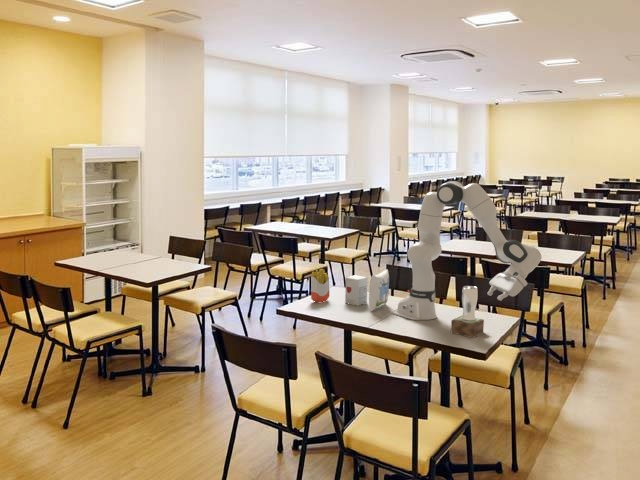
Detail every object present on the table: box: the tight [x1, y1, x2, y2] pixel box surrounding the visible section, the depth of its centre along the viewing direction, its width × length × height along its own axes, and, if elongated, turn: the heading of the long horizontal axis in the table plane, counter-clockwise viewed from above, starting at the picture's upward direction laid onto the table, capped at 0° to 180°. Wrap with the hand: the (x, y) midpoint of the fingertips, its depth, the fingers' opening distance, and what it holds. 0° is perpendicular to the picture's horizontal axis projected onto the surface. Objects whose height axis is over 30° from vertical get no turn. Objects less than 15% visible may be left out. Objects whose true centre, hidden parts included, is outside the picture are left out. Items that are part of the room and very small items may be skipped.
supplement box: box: [344, 274, 369, 306], centre depth 319 cm, size 9×9×15 cm
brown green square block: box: [450, 315, 485, 338], centre depth 268 cm, size 11×11×6 cm
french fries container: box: [310, 268, 330, 303], centre depth 322 cm, size 5×11×18 cm, turn 139°
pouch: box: [368, 268, 390, 312], centre depth 310 cm, size 8×19×20 cm, turn 146°
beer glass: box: [461, 285, 478, 321], centre depth 267 cm, size 7×7×15 cm
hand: (493, 297), depth 269 cm, fingers open, 8 cm apart
